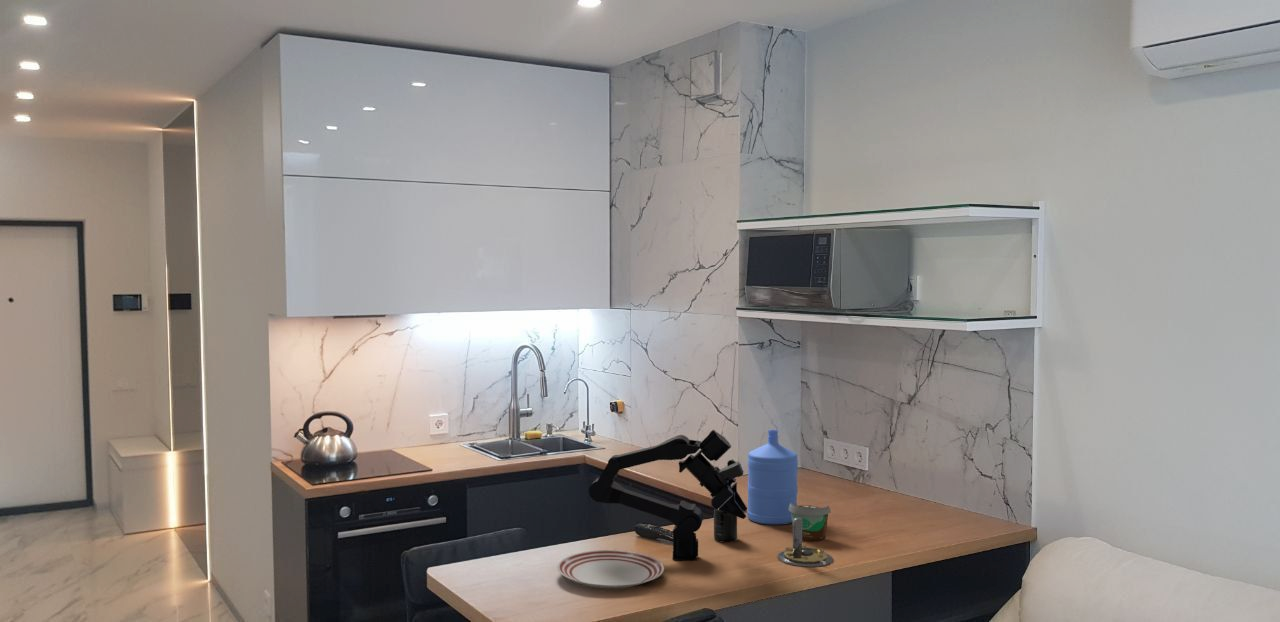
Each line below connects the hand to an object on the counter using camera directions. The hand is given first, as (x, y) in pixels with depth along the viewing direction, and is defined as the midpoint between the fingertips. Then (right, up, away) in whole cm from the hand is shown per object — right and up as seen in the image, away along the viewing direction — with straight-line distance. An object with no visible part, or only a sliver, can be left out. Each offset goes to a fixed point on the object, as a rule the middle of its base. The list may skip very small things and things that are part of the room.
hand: (745, 513), depth 266 cm
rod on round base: (+16, -13, +2) cm, 21 cm away
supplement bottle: (-4, -12, +21) cm, 24 cm away
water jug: (+13, -11, +43) cm, 47 cm away
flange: (+16, -13, +2) cm, 21 cm away
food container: (+20, -12, +21) cm, 31 cm away
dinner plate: (-36, -14, -14) cm, 41 cm away
